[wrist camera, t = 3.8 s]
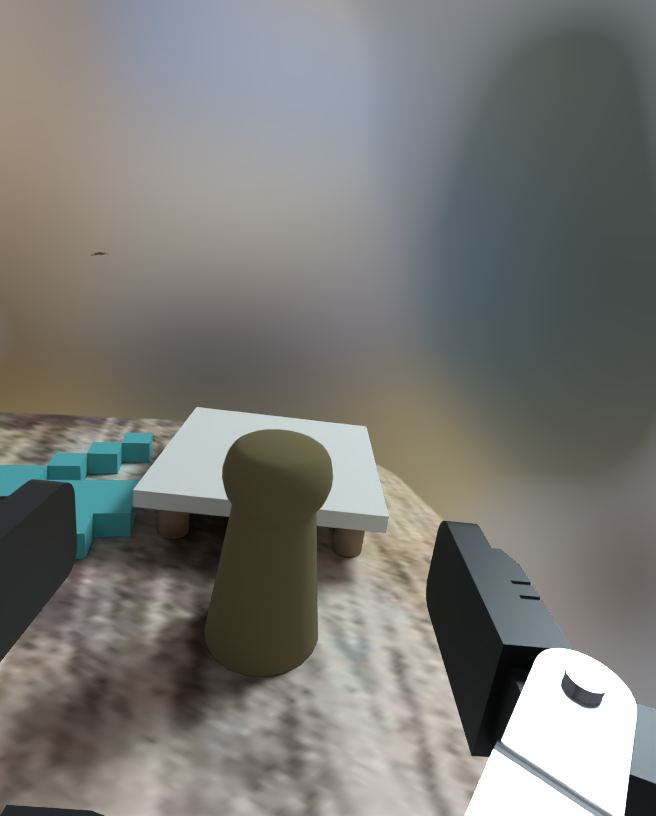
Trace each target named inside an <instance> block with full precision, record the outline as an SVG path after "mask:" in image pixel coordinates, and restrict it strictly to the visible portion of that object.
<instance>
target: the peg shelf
mask: <svg viewBox="0 0 656 816" xmlns="http://www.w3.org/2000/svg"><path fill="white" fill-rule="evenodd" d="M265 429H281V430H290V431H294V432H298V433H302V434H304V435H307V436H310V437H311V438H313V439H314V440H316V441H318V442H319V443H321V444H322V445H323V446H324V447H325V449H326V450H327V452H328V454H329V456H330V458H331V461H332V469H333V482H332V488H331V491H330V493H329V495H328V498H327V500H326V501H325V503H324V505H323V506H322V507H321V508H320V509H319V510H318V511H317V526H324V527H333V528H336V529H335V536H334V542H333V549H334V551H335V552H336V553H338V554H339V555H342V556H345V557H355V556H358V555H359V554H360V553H361V549H362V544H363V538H364V532H365V531H372V532H382V533H386V528H387V523H388V518H389V516H388V512H387V508H386V504H385V500H384V496H383V492H382V488H381V484H380V480H379V476H378V472H377V468H376V464H375V460H374V456H373V452H372V448H371V444H370V440H369V436H368V432H367V428H366V427H365V426H356V425H348V424H339V423H329V422H321V421H312V420H304V419H295V418H286V417H278V416H269V415H260V414H251V413H243V412H234V411H225V410H216V409H207V408H199V407H196V409H195V410H194V411H193V413H192V414H191V415H190V416H189V418H188V419H187V420H186V422H185V423H184V424H183V426H182V427H181V428H180V429H179V431H178V432H177V433H176V435H175V436H174V437H173V439H172V440H171V441H170V442H169V444H168V445H167V446H166V448H165V449H164V450H163V452H162V453H161V454H160V455H159V457H158V458H157V459H156V461H155V462H154V463H153V464H152V466H151V467H150V468H149V470H148V471H147V472H146V474H145V475H144V476H143V477H142V479H141V480H140V481H139V483H138V484H137V485H136V487H135V488H134V489H133V507H139V508H149V509H158V534H159V535H160V536H161V537H163V538H166V539H178V538H182V537H184V536H185V535H187V533H188V532H189V513H197V514H207V515H217V516H226V517H229V516H230V511H231V507H232V504H231V502H230V501H229V500H228V498H227V496H226V493H225V489H224V485H223V480H222V467H223V463H224V461H225V458H226V455H227V452H228V450H229V448H230V447H231V446H232V444H233V443H234V442H235V441H236V440H237V439H238V438H240V437H241V436H243V435H246V434H248V433H251V432H254V431H258V430H265Z"/></svg>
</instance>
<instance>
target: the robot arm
mask: <svg viewBox="0 0 656 816" xmlns="http://www.w3.org/2000/svg"><path fill="white" fill-rule="evenodd" d="M76 554H77V528H76V506H75V491H74V488H73V486H72V484H70V483H68V482H58V481H48V480H38V479H31V480H29V481H27V482H26V483H25V484H23V485H22V486H21V487H19V488H18V489H17V490H16V491H14V492H13V493H12V494H10V495H9V496H8V497H6V498H5V499H4V500H0V662H1V661H2V659H3V658H4V657H5V655H6V654H7V653H8V652H9V650H10V649H11V648H12V647H13V645H14V644H15V643H16V642H17V640H18V639H19V638H20V636H21V635H22V634H23V633H24V631H25V630H26V629H27V628H28V626H29V625H30V624H31V622H32V621H33V620H34V619H35V617H36V616H37V615H38V614H39V612H40V611H41V610H42V609H43V607H44V606H45V605H46V603H47V602H48V601H49V600H50V598H51V597H52V596H53V595H54V593H55V592H56V591H57V589H58V588H59V587H60V586H61V584H62V583H63V582H64V581H65V579H66V578H67V577H68V575H69V574H70V572H71V570H72V568H73V565H74V562H75V559H76ZM426 600H427V608H428V612H429V615H430V618H431V622H432V625H433V628H434V632H435V635H436V638H437V642H438V645H439V649H440V652H441V655H442V659H443V662H444V665H445V669H446V672H447V675H448V679H449V682H450V685H451V689H452V692H453V695H454V699H455V702H456V705H457V709H458V712H459V715H460V719H461V722H462V725H463V729H464V732H465V735H466V739H467V742H468V745H469V749H470V752H471V756H482V757H490V758H489V761H488V763H487V765H486V767H485V770H484V772H483V774H482V777H481V779H480V781H479V784H478V786H477V788H476V791H475V793H474V795H473V797H472V800H471V802H470V804H469V807H468V809H467V811H466V814H465V816H656V709H653V708H650V707H647V706H644V705H642V704H639V703H637V702H635V700H634V698H633V696H632V694H631V692H630V691H629V689H628V688H627V686H626V685H625V684H624V683H623V682H622V681H621V680H620V679H619V678H618V677H617V676H616V675H615V674H614V673H613V672H612V671H610V670H609V669H608V668H607V667H605V666H603V665H602V664H601V663H599V662H598V661H596V660H594V659H592V658H590V657H588V656H586V655H584V654H581V653H578V652H576V651H574V650H573V648H572V647H571V645H570V643H569V642H568V640H567V639H566V637H565V636H564V634H563V632H562V631H561V629H560V628H559V626H558V625H557V623H556V622H555V620H554V618H553V617H552V615H551V614H550V612H549V611H548V609H547V607H546V606H545V604H544V603H543V601H540V596H539V595H538V593H537V592H536V590H535V589H534V587H533V586H531V585H530V581H529V579H528V578H527V576H526V574H525V573H524V571H523V570H522V568H521V567H520V565H519V564H518V563H516V562H515V561H514V560H513V559H512V558H511V557H509V556H508V555H507V554H506V553H505V552H503V551H502V550H501V549H493V548H491V546H490V545H489V543H488V541H487V539H486V537H485V536H484V534H483V532H482V530H481V529H480V527H479V526H478V525H477V524H472V523H460V522H451V521H442V522H441V524H440V526H439V529H438V532H437V537H436V542H435V546H434V551H433V556H432V560H431V565H430V570H429V574H428V579H427V587H426ZM1 816H104V815H101V814H99V813H96V812H94V811H89V810H74V809H59V808H45V807H30V806H15V805H6V807H5V809H4V810H3V812H2V814H1Z"/></svg>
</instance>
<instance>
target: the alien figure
mask: <svg viewBox="0 0 656 816" xmlns="http://www.w3.org/2000/svg"><path fill="white" fill-rule="evenodd" d="M151 454H152V433H126V434H125V436H124V439H123V441H122V443H110V442H93V444H92V445H91V447H90V449H89V451H88V453H56V454H55V455H54V457H53V458H52V459H51V461H50V462H49V464H48V465H47V466H37V465H0V500H4V499H5V498H6V497H8V496H9V495H10V494H12V493H13V492H14V491H16V490H17V489H18V488H19V487H21V486H22V485H23V484H25V483H26V482H27V481H29V480H31V479H38V480H48V481H58V482H68V483H70V484H72V486H73V488H74V491H75V506H76V528H77V554H76V559H86V556H87V554H88V551H89V548H90V546H91V543H92V540H93V538H94V537H130V536H131V532H132V528H133V524H134V520H135V517H136V513H137V509H138V507H133V489H134V488H135V487H136V485H137V484H138V483H139V480H85V478H86V476H87V474H118V471H119V469H120V466H121V463H122V462H150V458H151Z"/></svg>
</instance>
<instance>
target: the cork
mask: <svg viewBox="0 0 656 816" xmlns="http://www.w3.org/2000/svg"><path fill="white" fill-rule="evenodd" d="M222 480H223V485H224V489H225V493H226V496H227V498H228V500H229V501H230V502H231V504H232V507H231V511H230V516H229V520H228V525H227V529H226V534H225V538H224V543H223V547H222V552H221V556H220V561H219V565H218V570H217V574H216V579H215V583H214V588H213V592H212V597H211V601H210V606H209V610H208V615H207V619H206V624H205V628H204V635H205V642H206V646H207V648H208V649H209V651H210V652H211V654H212V656H213V657H214V658H215V659H216V660H217V661H218V662H220V663H221V664H222V665H224V666H225V667H226V668H227V669H230V670H232V671H235V672H238V673H241V674H243V675H248V676H261V677H267V676H272V675H277V674H283V673H286V672H288V671H290V670H292V669H294V668H296V667H298V666H299V665H301V664H302V663H303V662H304V661H305V660H306V659H307V658H308V657H309V656H310V655H311V654H312V652H313V650H314V648H315V645H316V643H317V640H318V614H317V511H318V510H319V509H320V508H321V507H322V506H323V505H324V503H325V501H326V500H327V498H328V495H329V493H330V491H331V488H332V482H333V469H332V461H331V458H330V456H329V454H328V452H327V450H326V449H325V447H324V446H323V445H322V444H321V443H319V442H318V441H316V440H314V439H313V438H311V437H310V436H307V435H304V434H302V433H298V432H294V431H290V430H281V429H265V430H258V431H254V432H251V433H248V434H246V435H243V436H241V437H240V438H238V439H237V440H236V441H235V442H234V443H233V444H232V446H231V447H230V448H229V450H228V452H227V455H226V458H225V461H224V463H223V467H222Z"/></svg>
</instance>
